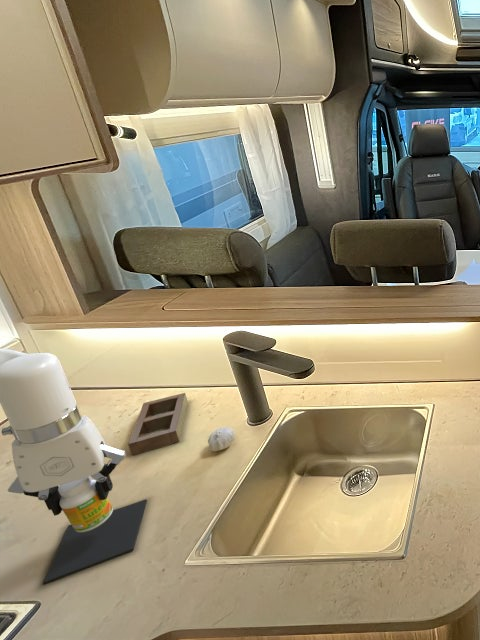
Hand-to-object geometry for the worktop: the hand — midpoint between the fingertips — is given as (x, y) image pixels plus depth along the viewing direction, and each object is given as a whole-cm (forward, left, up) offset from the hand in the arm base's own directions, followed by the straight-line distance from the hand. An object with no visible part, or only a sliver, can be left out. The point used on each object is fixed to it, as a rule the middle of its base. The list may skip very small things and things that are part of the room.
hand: (83, 500), depth 76 cm
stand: (+5, +31, -10) cm, 33 cm away
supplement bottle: (0, 0, -5) cm, 5 cm away
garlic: (+19, +16, -10) cm, 27 cm away
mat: (0, 0, -10) cm, 10 cm away
